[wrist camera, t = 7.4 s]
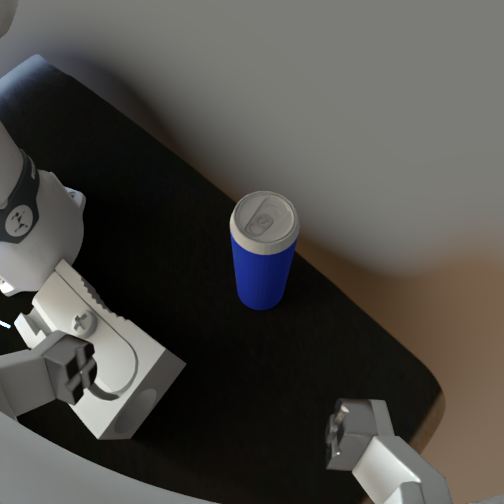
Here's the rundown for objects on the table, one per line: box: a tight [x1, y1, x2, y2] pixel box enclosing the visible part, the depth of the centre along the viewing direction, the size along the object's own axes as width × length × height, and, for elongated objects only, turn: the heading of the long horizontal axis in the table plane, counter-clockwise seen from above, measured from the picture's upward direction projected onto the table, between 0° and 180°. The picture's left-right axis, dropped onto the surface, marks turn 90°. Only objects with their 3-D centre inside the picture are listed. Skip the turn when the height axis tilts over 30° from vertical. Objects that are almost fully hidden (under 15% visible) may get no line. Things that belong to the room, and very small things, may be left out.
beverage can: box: [230, 191, 300, 310], centre depth 30 cm, size 5×5×15 cm
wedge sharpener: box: [14, 259, 186, 439], centre depth 30 cm, size 11×20×7 cm, turn 56°
